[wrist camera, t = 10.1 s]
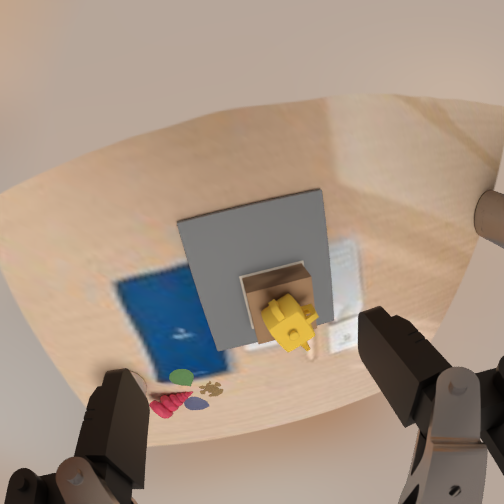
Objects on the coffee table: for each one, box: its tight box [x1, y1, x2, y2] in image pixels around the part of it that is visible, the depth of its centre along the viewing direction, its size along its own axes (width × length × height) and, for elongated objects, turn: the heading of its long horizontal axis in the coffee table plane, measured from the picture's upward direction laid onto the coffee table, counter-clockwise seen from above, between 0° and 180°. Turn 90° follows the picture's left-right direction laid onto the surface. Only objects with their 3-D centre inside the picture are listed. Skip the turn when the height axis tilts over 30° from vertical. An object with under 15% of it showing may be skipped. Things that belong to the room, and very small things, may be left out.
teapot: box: [261, 294, 319, 352], centre depth 35 cm, size 8×6×5 cm
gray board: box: [177, 189, 334, 351], centre depth 40 cm, size 18×20×1 cm
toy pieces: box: [149, 369, 223, 418], centre depth 45 cm, size 12×11×4 cm
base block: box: [242, 263, 317, 344], centre depth 39 cm, size 8×8×4 cm
